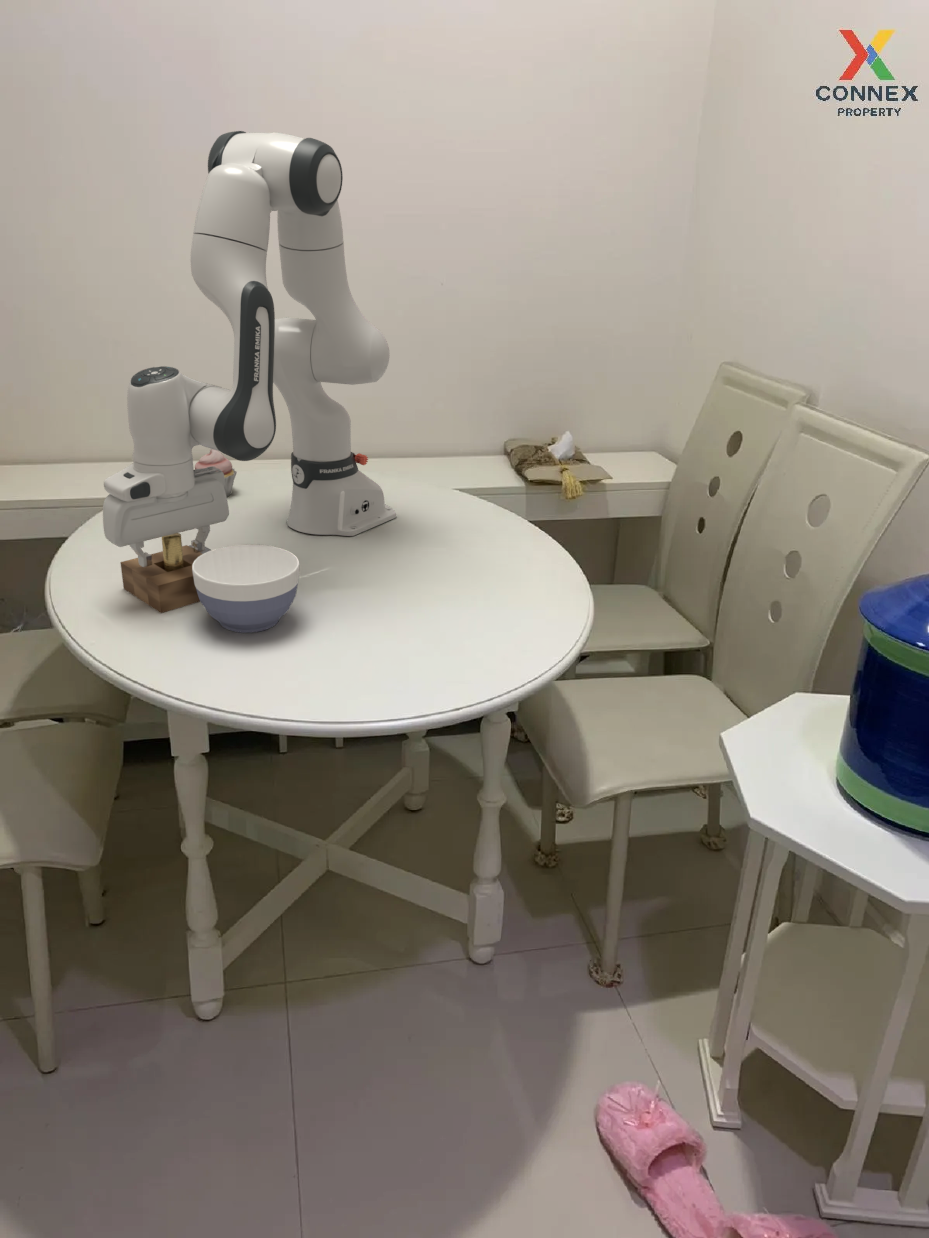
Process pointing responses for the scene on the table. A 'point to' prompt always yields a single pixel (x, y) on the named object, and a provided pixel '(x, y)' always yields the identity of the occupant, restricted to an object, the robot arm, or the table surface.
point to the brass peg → (172, 552)
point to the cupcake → (219, 467)
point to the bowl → (246, 585)
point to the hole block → (162, 582)
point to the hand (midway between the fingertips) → (172, 558)
